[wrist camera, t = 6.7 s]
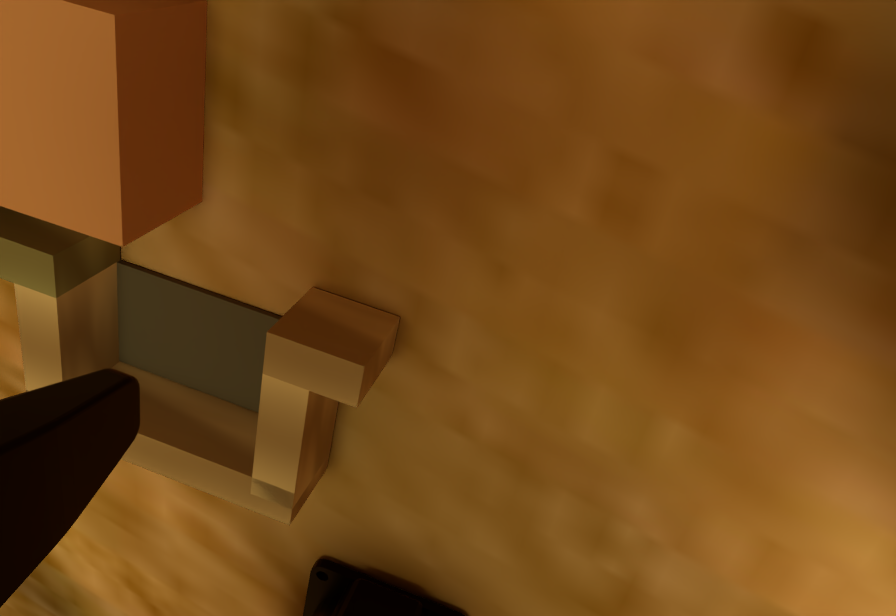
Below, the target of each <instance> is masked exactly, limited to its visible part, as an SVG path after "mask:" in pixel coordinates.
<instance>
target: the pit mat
mask: <svg viewBox="0 0 896 616" xmlns="http://www.w3.org/2000/svg"><path fill="white" fill-rule="evenodd" d="M117 297H118V337H119V361H121V362H123V363H126V364H129V365H131V366H134V367H137V368H139V369H142V370H145V371H147V372H150V373H153V374H155V375H158V376H161V377H164V378H166V379H169V380H172V381H174V382H177V383H180V384H182V385H185V386H188V387H190V388H193V389H196V390H198V391H201V392H204V393H206V394H209V395H212V396H214V397H217V398H220V399H222V400H225V401H228V402H231V403H233V404H236V405H239V406H241V407H244V408H247V409H249V410H252V411H255V412H257V413H259V404H260V394H261V385H262V375H263V365H264V355H265V345H266V336H267V331H268V330H269V329H270V328H271V327H272V326H273V325H274V324H275V323H276V322H278V321H279V320H280V319H281V318H282V317H281V316H278V315H275V314H273V313H270V312H267V311H264V310H261V309H258V308H256V307H253V306H250V305H247V304H244V303H241V302H239V301H236V300H233V299H230V298H227V297H224V296H221V295H219V294H216V293H213V292H210V291H207V290H204V289H202V288H199V287H196V286H193V285H190V284H187V283H185V282H182V281H179V280H176V279H173V278H170V277H167V276H165V275H162V274H159V273H156V272H153V271H150V270H148V269H145V268H142V267H139V266H136V265H133V264H131V263H128V262H125V261H122V260H120V261H118V262H117Z"/></svg>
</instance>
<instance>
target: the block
mask: <svg viewBox="0 0 896 616" xmlns="http://www.w3.org/2000/svg"><path fill="white" fill-rule="evenodd" d="M206 30H207V0H0V206H2V207H5V208H8V209H11V210H14V211H17V212H20V213H23V214H26V215H29V216H32V217H35V218H38V219H41V220H44V221H47V222H50V223H53V224H56V225H59V226H62V227H65V228H68V229H71V230H74V231H77V232H80V233H83V234H86V235H89V236H92V237H95V238H98V239H101V240H104V241H106V242H109V243H112V244H115V245H118V246H121V247H123V246H125V245H127V244H129V243H130V242H132V241H134V240H136V239H137V238H139V237H141V236H143V235H144V234H146V233H148V232H150V231H151V230H153V229H155V228H157V227H158V226H160V225H162V224H164V223H165V222H167V221H169V220H171V219H172V218H174V217H176V216H178V215H179V214H181V213H183V212H185V211H186V210H188V209H190V208H192V207H193V206H195V205H197V204H199V203H200V202H202V186H203V147H204V108H205V69H206Z"/></svg>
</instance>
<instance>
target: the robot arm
mask: <svg viewBox="0 0 896 616" xmlns="http://www.w3.org/2000/svg"><path fill="white" fill-rule="evenodd" d="M139 427H140V384H139V382H138V380H137V378H135V377H134V376H132V375H129V374H126V373H124V372H121V371H118V370H116V369H112V368H106V369H101V370H98V371H94V372H91V373H88V374H84V375H81V376H78V377H74V378H71V379H68V380H64V381H61V382H58V383H54V384H51V385H48V386H44V387H41V388H38V389H34V390H31V391H28V392H24V393H21V394H18V395H14V396H11V397H8V398H4V399H1V400H0V607H1V606H2V605H3V604H4V603H5V602H6V601H7V599H8V598H9V597H10V596H11V595H12V594H13V593H14V592H15V591H16V589H17V588H18V587H19V586H20V585H21V584H22V583H23V582H24V580H25V579H26V578H27V577H28V576H29V575H30V574H31V573H32V572H33V570H34V569H35V568H36V567H37V566H38V565H39V564H40V563H41V561H42V560H43V559H44V558H45V557H46V556H47V555H48V554H49V553H50V551H51V550H52V549H53V548H54V547H55V546H56V545H57V543H58V542H59V541H60V540H61V539H62V538H63V536H64V535H65V534H66V533H67V532H68V530H69V529H70V528H71V526H72V525H73V524H74V522H75V521H76V520H77V519H78V517H79V516H80V514H81V513H82V512H83V510H84V509H85V508H86V506H87V505H88V503H89V502H90V501H91V499H92V498H93V497H94V495H95V494H96V492H97V491H98V490H99V488H100V487H101V486H102V484H103V483H104V481H105V480H106V479H107V477H108V476H109V474H110V473H111V472H112V470H113V469H114V468H115V466H116V465H117V463H118V462H119V461H120V459H121V458H122V457H123V455H124V454H125V452H126V451H127V450H128V448H129V447H130V446H131V444H132V443H133V441H134V440H135V438H136V436H137V434H138V431H139ZM303 616H465V615H463V614H462V613H460V612H457V611H455V610H452V609H450V608H447V607H445V606H442V605H440V604H437V603H435V602H432V601H430V600H427V599H425V598H422V597H420V596H417V595H415V594H412V593H410V592H407V591H405V590H402V589H400V588H397V587H394V586H392V585H389V584H387V583H384V582H382V581H379V580H377V579H374V578H372V577H369V576H367V575H364V574H362V573H359V572H357V571H354V570H352V569H349V568H347V567H344V566H342V565H339V564H337V563H334V562H332V561H329V560H326V559H319V560H317V561H316V563H315V565H314V566H313V568H312V570H311V573H310V579H309V584H308V590H307V596H306V601H305V607H304V613H303Z"/></svg>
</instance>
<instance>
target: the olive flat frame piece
mask: <svg viewBox="0 0 896 616" xmlns="http://www.w3.org/2000/svg"><path fill="white" fill-rule="evenodd" d="M118 261H120V246H118V245H115V244H112V243H109V242H106V241H104V240H101V239H98V238H95V237H92V236H89V235H86V234H83V233H80V232H77V231H74V230H71V229H68V228H65V227H62V226H59V225H56V224H53V223H50V222H47V221H44V220H41V219H38V218H35V217H32V216H29V215H26V214H23V213H20V212H17V211H14V210H11V209H8V208H5V207H2V206H0V278H2V279H4V280H7V281H10V282H13V283H14V286H15V295H16V304H17V313H18V322H19V331H20V340H21V349H22V358H23V367H24V376H25V385H26V392H28V391H31V390H34V389H38V388H41V387H44V386H48V385H51V384H54V383H58V382H61V381H64V380H68V379H71V378H74V377H78V376H81V375H84V374H88V373H91V372H94V371H98V370H101V369H106V368H112V369H116V370H118V371H121V372H124V373H126V374H129V375H132V376H134V377H135V378H137V380H138V382H139V384H140V427H139V431H138V434H137V436H136V438H135V440H134V441H133V443H132V444H131V446H130V447H129V448H128V450H127V451H126V452H125V454H124V455H123V457H122V458H121V459H122V460H124V461H127V462H130V463H132V464H135V465H137V466H140V467H142V468H145V469H147V470H150V471H152V472H155V473H158V474H160V475H163V476H165V477H168V478H170V479H173V480H175V481H178V482H180V483H183V484H185V485H188V486H191V487H193V488H196V489H198V490H201V491H203V492H206V493H208V494H211V495H213V496H216V497H219V498H221V499H224V500H226V501H229V502H231V503H234V504H236V505H239V506H241V507H244V508H246V509H249V510H252V511H254V512H257V513H259V514H262V515H264V516H267V517H269V518H272V519H274V520H277V521H279V522H282V523H285V524H287V525H290V524H291V523H292V521H293V520H294V518H295V516H296V515H297V513H298V512H299V510H300V509H301V507H302V506H303V504H304V503H305V501H306V500H307V498H308V497H309V495H310V493H311V492H312V490H313V489H314V487H315V486H316V484H317V483H318V481H319V480H320V478H321V477H322V475H323V474H324V472H325V470H326V469H327V466H328V460H329V455H330V449H331V443H332V437H333V432H334V426H335V420H336V414H337V408H338V403H339V402H341V403H344V404H347V405H350V406H352V407H355V408H357V407H358V405H359V404H360V402H361V401H362V399H363V398H364V396H365V395H366V393H367V392H368V391H369V389H370V388H371V386H372V385H373V383H374V382H375V380H376V379H377V377H378V376H379V374H380V373H381V371H382V370H383V368H384V367H385V365H386V364H387V362H388V361H389V359H390V358H391V356H392V353H393V348H394V344H395V339H396V334H397V330H398V325H399V320H400V317H399V316H396V315H393V314H390V313H387V312H384V311H381V310H378V309H375V308H372V307H369V306H366V305H364V304H361V303H358V302H355V301H352V300H349V299H346V298H343V297H340V296H337V295H334V294H332V293H329V292H326V291H323V290H320V289H317V288H314V287H312V288H311V289H310V290H309V291H308V292H307V293H306V294H305V295H304V296H303V297H302V298H301V299H300V300H299V301H298V302H297V303H296V304H295V305H294V306H293V307H292V308H291V309H290V310H289V311H288V312H287V313H286V314H285V315H284V316H283V317H282V318H281V319H280V320H279V321H278V322H276V323H275V324H274V325H273V326H272V327H271V328H270V329H269V330H268V331H267V336H266V345H265V355H264V365H263V375H262V385H261V394H260V404H259V413H257V412H255V411H252V410H249V409H247V408H244V407H241V406H239V405H236V404H233V403H231V402H228V401H225V400H222V399H220V398H217V397H214V396H212V395H209V394H206V393H204V392H201V391H198V390H196V389H193V388H190V387H188V386H185V385H182V384H180V383H177V382H174V381H172V380H169V379H166V378H164V377H161V376H158V375H155V374H153V373H150V372H147V371H145V370H142V369H139V368H137V367H134V366H131V365H129V364H126V363H123V362H121V361H119V337H118V297H117V262H118Z"/></svg>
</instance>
